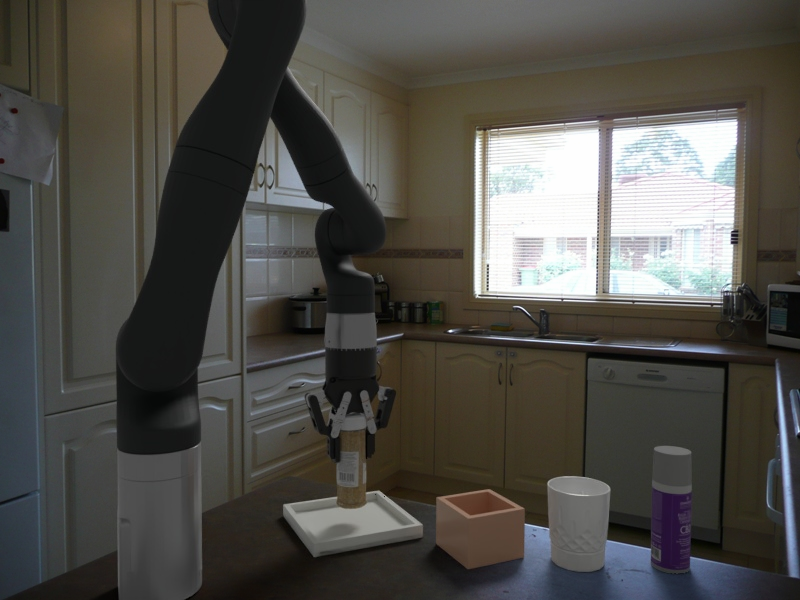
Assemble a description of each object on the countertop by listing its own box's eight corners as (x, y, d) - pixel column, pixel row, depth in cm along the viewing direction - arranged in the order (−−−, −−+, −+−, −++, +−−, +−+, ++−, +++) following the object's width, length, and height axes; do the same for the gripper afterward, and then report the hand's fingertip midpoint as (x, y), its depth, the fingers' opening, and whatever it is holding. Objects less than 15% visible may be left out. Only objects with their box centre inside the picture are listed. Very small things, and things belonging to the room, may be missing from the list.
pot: (467, 569, 82) (468, 518, 82) (436, 543, 90) (436, 497, 89) (524, 557, 85) (524, 508, 85) (488, 533, 93) (489, 489, 93)
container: (686, 577, 80) (689, 457, 79) (646, 568, 83) (649, 451, 82) (692, 563, 84) (695, 448, 83) (654, 554, 86) (657, 443, 86)
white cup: (595, 581, 79) (597, 500, 79) (536, 563, 84) (537, 487, 83) (617, 558, 85) (618, 483, 85) (560, 543, 90) (561, 472, 90)
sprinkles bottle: (373, 503, 96) (372, 413, 95) (353, 512, 92) (352, 419, 92) (349, 497, 99) (349, 409, 98) (329, 505, 95) (328, 414, 94)
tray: (314, 557, 85) (314, 543, 85) (283, 516, 100) (283, 504, 100) (422, 537, 92) (422, 524, 92) (379, 501, 106) (379, 490, 106)
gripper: (311, 348, 88) (311, 473, 89) (406, 344, 94) (406, 460, 95) (296, 343, 95) (297, 458, 96) (385, 339, 101) (386, 448, 102)
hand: (351, 459), depth 95 cm, fingers closed on sprinkles bottle, 4 cm apart
